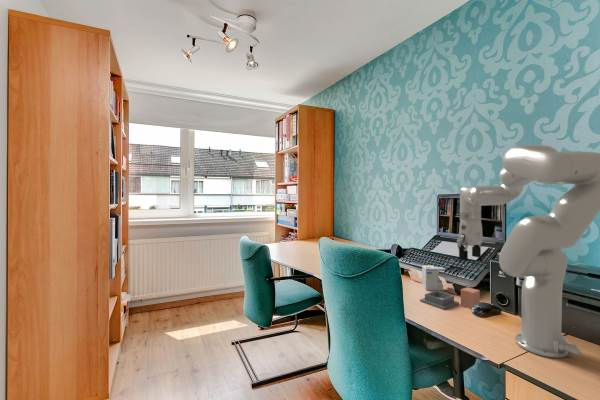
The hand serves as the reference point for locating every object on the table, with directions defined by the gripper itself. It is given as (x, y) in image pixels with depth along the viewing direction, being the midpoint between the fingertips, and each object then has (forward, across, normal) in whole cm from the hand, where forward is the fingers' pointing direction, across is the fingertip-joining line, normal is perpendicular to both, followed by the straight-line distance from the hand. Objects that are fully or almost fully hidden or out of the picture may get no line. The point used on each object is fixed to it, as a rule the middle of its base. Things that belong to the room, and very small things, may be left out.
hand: (469, 258), depth 121 cm
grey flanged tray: (+20, -6, +9) cm, 23 cm away
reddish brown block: (+20, 0, 0) cm, 20 cm away
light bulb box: (+20, +8, +21) cm, 31 cm away
